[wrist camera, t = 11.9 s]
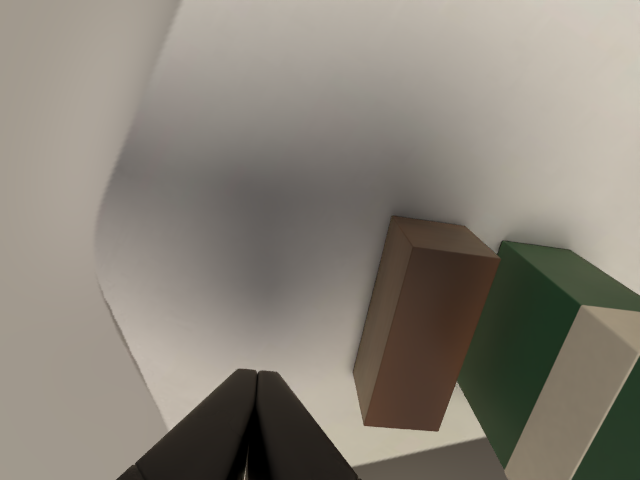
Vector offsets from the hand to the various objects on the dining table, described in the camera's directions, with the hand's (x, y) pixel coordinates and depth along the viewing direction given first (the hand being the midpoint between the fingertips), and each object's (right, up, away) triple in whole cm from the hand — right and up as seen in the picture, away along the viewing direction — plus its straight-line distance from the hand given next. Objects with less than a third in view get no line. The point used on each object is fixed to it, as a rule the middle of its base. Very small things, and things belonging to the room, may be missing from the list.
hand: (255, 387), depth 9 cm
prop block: (+6, -1, +15) cm, 16 cm away
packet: (+12, -1, +16) cm, 20 cm away
